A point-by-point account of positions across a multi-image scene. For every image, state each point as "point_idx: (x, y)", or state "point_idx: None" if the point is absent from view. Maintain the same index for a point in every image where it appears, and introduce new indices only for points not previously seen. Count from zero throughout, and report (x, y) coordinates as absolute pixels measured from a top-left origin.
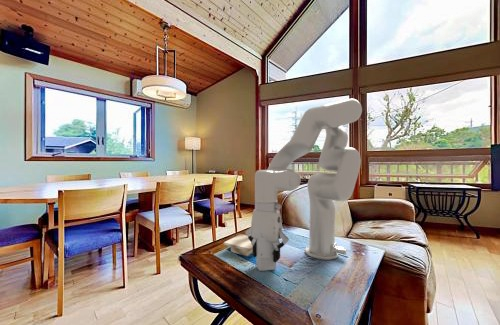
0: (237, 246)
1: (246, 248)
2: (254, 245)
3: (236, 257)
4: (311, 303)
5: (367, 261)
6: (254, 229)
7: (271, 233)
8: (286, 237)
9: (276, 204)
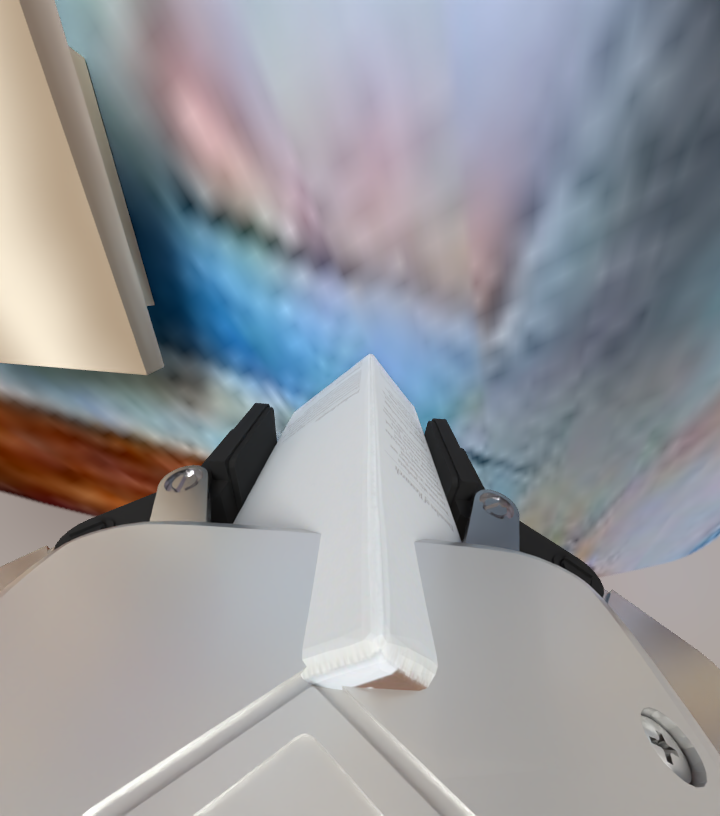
0: (15, 360)
1: (115, 369)
2: (231, 520)
3: None
4: (576, 541)
5: None
6: None
7: None
8: (717, 737)
9: None
